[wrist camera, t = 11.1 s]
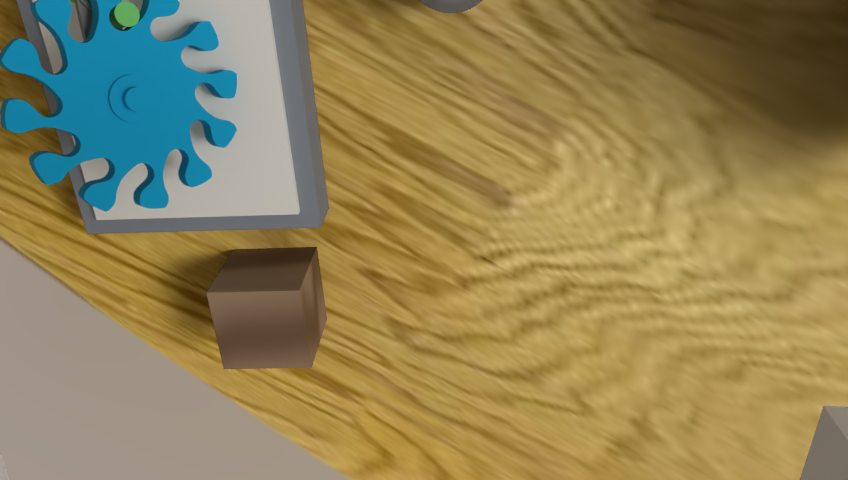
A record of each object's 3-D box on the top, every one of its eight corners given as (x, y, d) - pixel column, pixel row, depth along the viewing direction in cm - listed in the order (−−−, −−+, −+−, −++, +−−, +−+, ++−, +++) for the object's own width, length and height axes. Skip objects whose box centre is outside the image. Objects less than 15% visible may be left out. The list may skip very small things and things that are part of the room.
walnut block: (233, 248, 41) (206, 292, 37) (317, 246, 41) (299, 290, 37) (248, 319, 44) (223, 368, 39) (327, 317, 43) (311, 367, 39)
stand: (7, -137, 32) (-32, -138, 30) (282, -155, 32) (267, -158, 29) (107, 214, 41) (83, 237, 38) (328, 208, 40) (319, 230, 37)
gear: (261, 186, 34) (41, 242, 28) (208, 172, 39) (7, 218, 32) (221, -57, 31) (-41, -53, 25) (168, -43, 35) (-66, -36, 29)
